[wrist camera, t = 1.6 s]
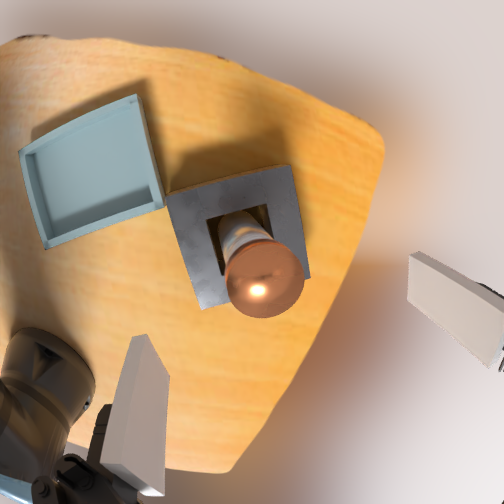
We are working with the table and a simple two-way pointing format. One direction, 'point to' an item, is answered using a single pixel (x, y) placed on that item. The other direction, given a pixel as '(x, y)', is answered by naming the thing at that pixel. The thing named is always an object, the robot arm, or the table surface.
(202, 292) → the block
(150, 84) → the table surface
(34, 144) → the tray
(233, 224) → the pin
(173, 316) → the table surface
